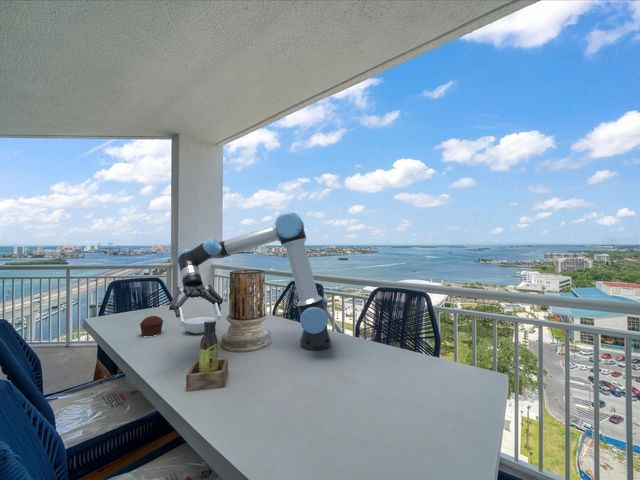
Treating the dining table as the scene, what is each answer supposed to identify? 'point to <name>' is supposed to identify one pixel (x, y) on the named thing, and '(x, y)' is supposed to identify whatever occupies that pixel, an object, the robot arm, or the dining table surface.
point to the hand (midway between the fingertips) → (201, 320)
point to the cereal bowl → (196, 324)
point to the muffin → (151, 326)
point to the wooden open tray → (207, 376)
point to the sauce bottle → (209, 348)
